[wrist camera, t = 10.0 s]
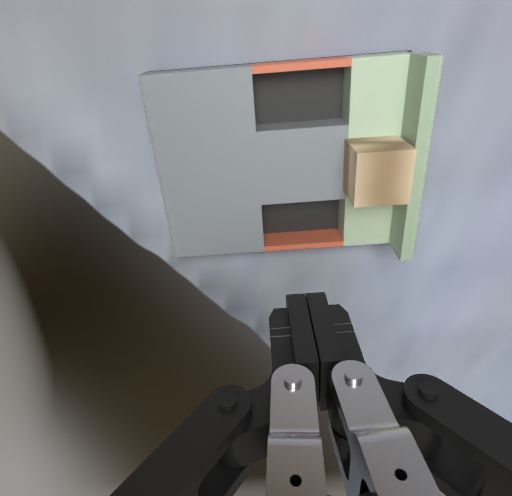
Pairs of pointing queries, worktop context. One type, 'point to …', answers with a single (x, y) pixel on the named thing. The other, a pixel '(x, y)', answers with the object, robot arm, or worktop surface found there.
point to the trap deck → (285, 149)
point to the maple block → (378, 171)
